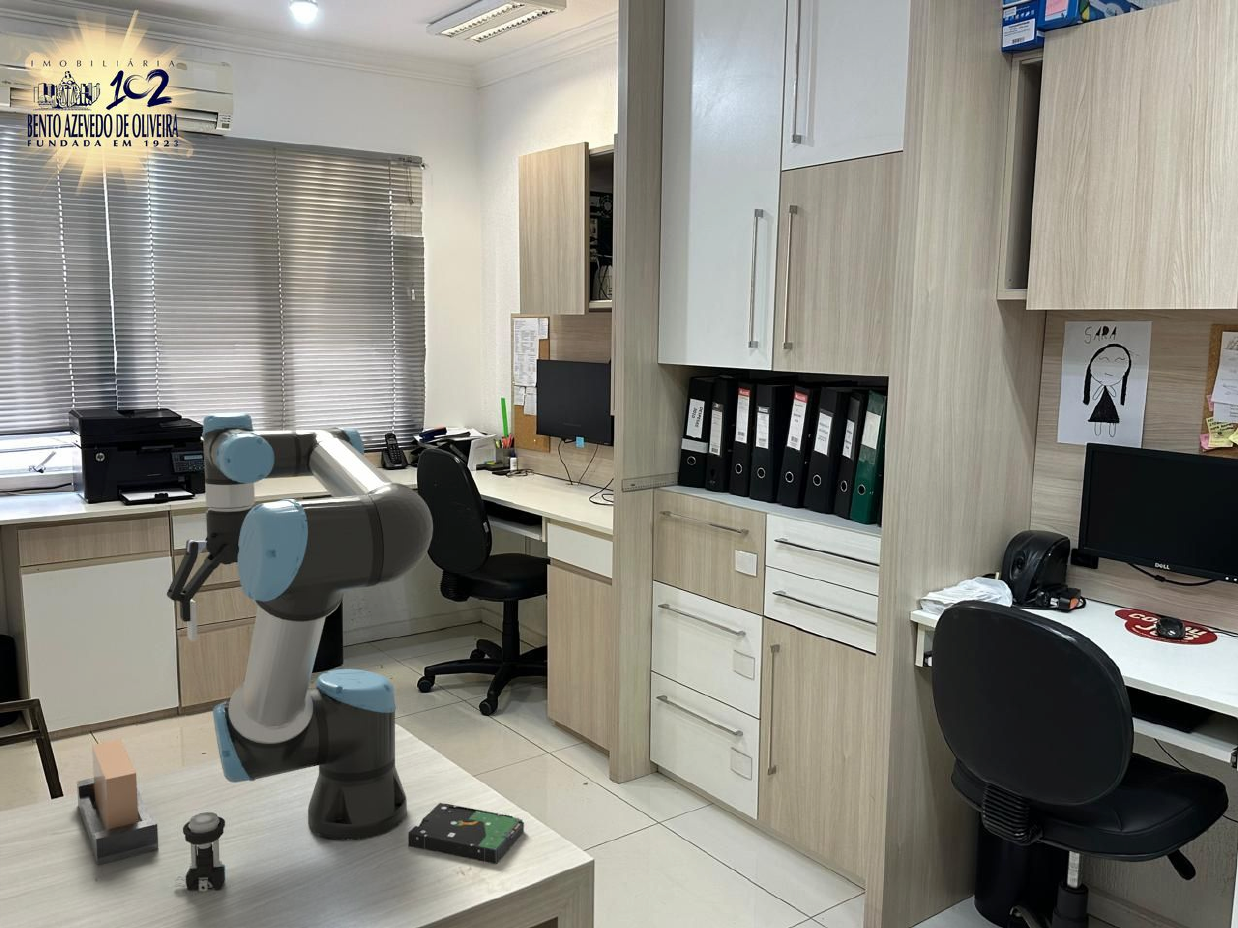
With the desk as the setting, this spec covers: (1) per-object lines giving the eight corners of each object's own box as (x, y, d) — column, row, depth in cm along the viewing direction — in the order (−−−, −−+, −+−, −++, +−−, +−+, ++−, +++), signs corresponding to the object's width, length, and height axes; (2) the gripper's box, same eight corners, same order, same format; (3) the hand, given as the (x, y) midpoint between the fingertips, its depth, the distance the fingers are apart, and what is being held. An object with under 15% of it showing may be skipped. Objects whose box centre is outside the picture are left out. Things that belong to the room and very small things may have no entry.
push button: (170, 899, 132) (167, 829, 130) (181, 877, 137) (178, 810, 136) (222, 895, 133) (219, 827, 132) (231, 874, 138) (228, 807, 137)
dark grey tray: (158, 848, 144) (157, 823, 144) (97, 865, 140) (96, 838, 139) (133, 792, 161) (132, 769, 160) (78, 804, 156) (76, 781, 156)
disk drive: (407, 850, 147) (497, 867, 142) (406, 833, 146) (497, 849, 142) (439, 818, 156) (525, 832, 152) (438, 801, 156) (525, 815, 152)
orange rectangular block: (139, 836, 146) (136, 772, 144) (109, 843, 143) (105, 779, 142) (123, 798, 157) (120, 739, 156) (95, 804, 155) (92, 744, 153)
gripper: (295, 497, 171) (298, 614, 174) (142, 511, 156) (148, 640, 158) (313, 503, 166) (315, 624, 169) (155, 518, 150) (161, 652, 153)
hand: (234, 632), depth 163 cm, fingers open, 13 cm apart
